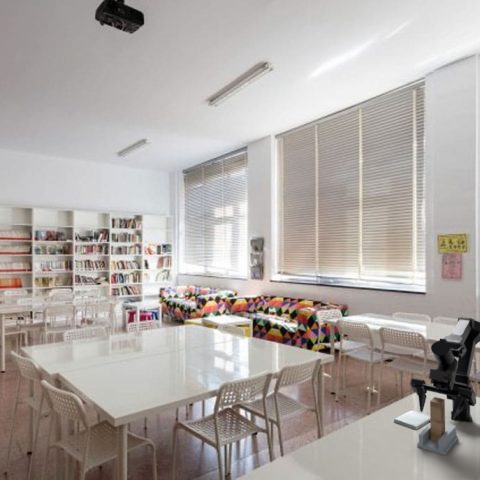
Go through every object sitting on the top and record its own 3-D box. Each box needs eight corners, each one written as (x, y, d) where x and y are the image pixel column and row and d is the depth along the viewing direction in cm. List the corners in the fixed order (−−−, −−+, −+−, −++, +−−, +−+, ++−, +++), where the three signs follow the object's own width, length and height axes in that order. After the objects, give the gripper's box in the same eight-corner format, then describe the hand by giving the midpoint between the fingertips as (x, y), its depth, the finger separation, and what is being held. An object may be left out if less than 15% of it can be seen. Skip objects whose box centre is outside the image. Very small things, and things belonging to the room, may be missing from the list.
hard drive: (416, 426, 137) (432, 416, 145) (393, 418, 144) (411, 409, 151) (416, 431, 137) (432, 421, 145) (393, 423, 144) (411, 413, 151)
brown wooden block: (435, 435, 131) (434, 396, 131) (445, 438, 129) (444, 399, 129) (430, 440, 127) (430, 400, 128) (441, 443, 125) (440, 403, 126)
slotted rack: (432, 431, 136) (432, 419, 136) (458, 438, 130) (457, 426, 130) (417, 446, 126) (417, 433, 126) (444, 455, 120) (444, 441, 120)
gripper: (411, 354, 138) (399, 395, 130) (472, 364, 125) (463, 410, 117) (420, 371, 143) (408, 412, 135) (479, 383, 131) (471, 428, 122)
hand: (436, 415), depth 127 cm, fingers open, 9 cm apart
